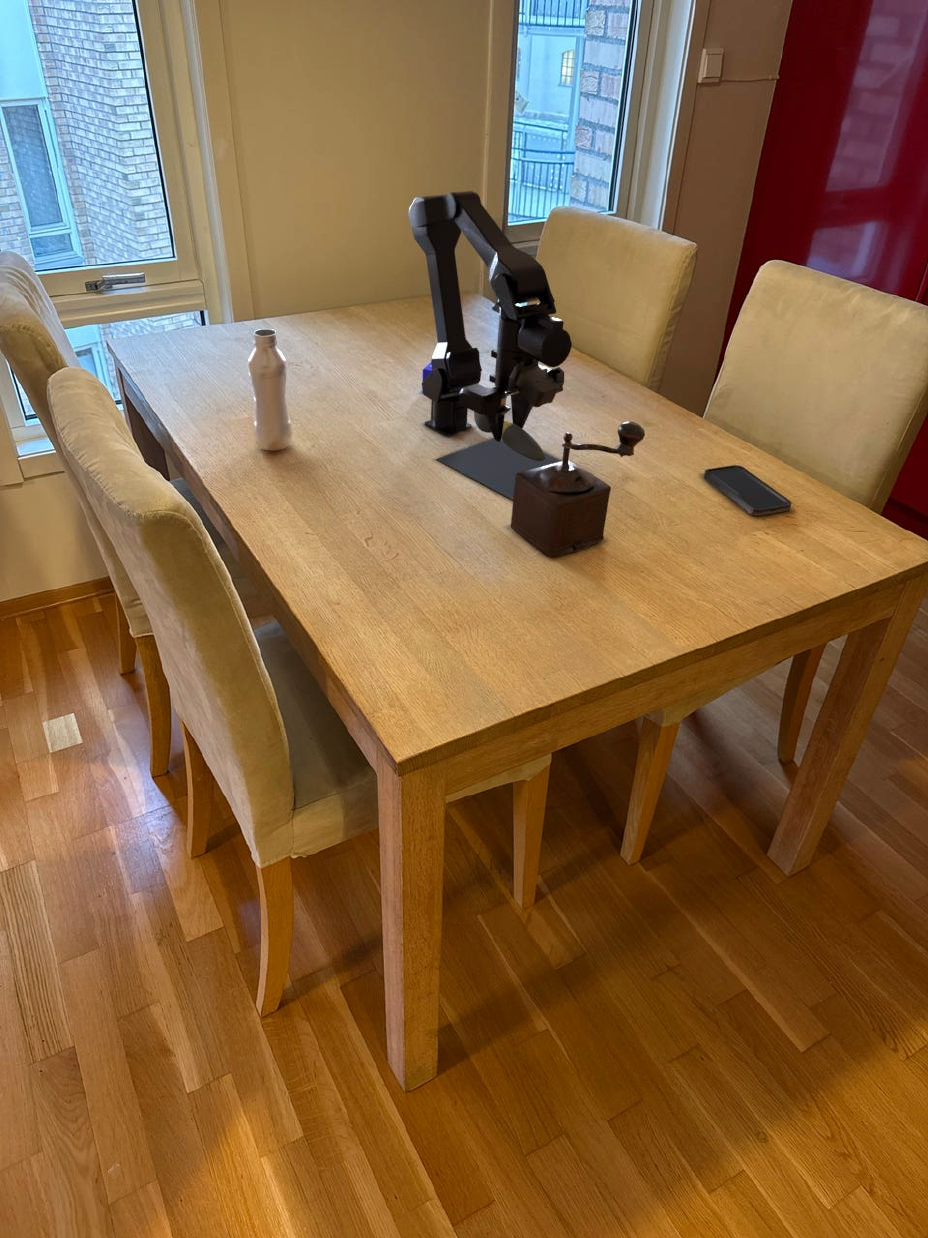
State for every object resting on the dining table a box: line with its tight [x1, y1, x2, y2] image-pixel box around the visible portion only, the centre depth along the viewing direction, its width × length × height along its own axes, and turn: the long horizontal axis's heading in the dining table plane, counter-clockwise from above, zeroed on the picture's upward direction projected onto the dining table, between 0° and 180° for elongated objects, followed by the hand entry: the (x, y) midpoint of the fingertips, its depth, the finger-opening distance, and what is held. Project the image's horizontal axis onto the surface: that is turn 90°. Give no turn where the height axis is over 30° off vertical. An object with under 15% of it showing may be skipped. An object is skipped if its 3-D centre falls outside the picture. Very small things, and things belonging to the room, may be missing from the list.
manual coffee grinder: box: [510, 420, 646, 559], centre depth 132 cm, size 16×11×18 cm
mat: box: [435, 437, 562, 502], centre depth 154 cm, size 20×17×1 cm
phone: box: [703, 464, 793, 517], centre depth 150 cm, size 8×1×15 cm
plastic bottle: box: [247, 328, 293, 451], centre depth 150 cm, size 6×7×20 cm
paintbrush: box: [473, 411, 545, 461], centre depth 151 cm, size 20×5×5 cm, turn 40°
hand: (507, 437), depth 152 cm, fingers closed on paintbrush, 4 cm apart
